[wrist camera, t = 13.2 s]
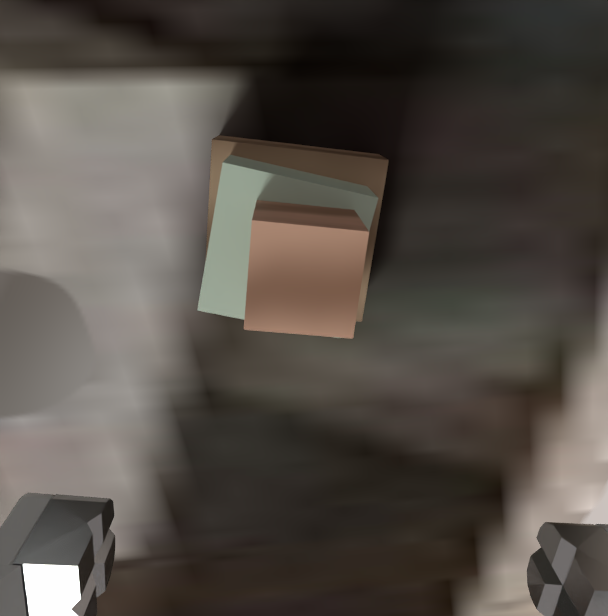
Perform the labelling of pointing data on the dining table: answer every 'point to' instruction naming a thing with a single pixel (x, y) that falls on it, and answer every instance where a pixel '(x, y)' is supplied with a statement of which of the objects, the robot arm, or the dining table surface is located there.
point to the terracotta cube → (304, 269)
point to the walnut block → (311, 160)
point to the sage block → (238, 219)
